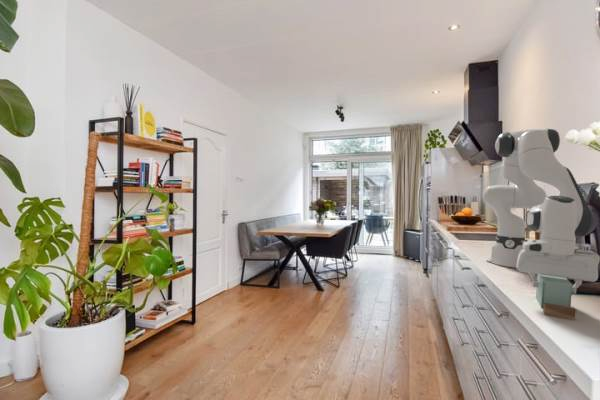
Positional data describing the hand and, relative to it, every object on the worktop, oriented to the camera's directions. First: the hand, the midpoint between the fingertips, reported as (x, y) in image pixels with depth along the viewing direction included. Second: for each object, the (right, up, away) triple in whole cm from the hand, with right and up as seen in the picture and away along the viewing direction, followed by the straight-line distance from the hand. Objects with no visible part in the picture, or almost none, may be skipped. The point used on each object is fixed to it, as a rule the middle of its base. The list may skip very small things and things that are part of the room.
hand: (553, 289), depth 101 cm
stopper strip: (-5, -5, -8) cm, 11 cm away
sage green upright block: (0, -5, +1) cm, 5 cm away
